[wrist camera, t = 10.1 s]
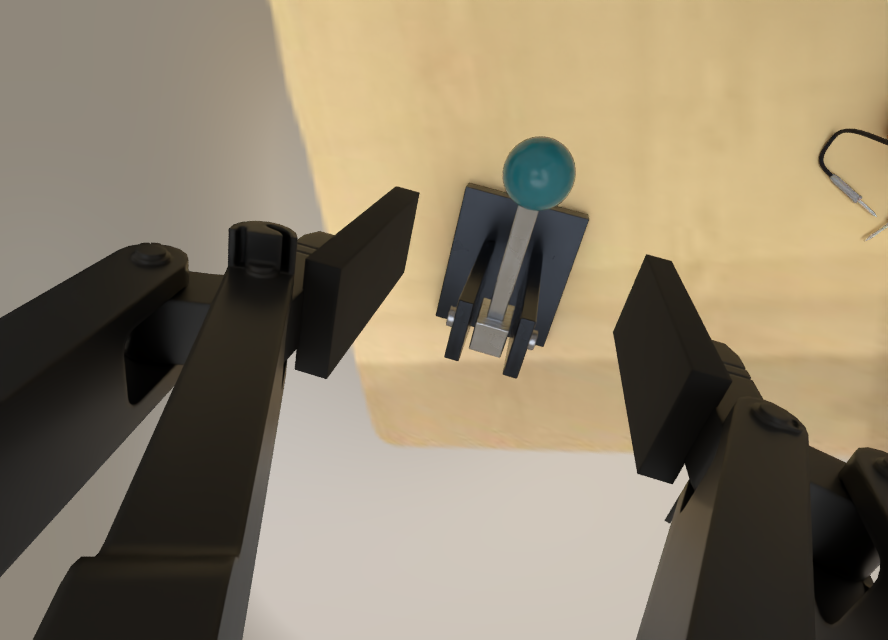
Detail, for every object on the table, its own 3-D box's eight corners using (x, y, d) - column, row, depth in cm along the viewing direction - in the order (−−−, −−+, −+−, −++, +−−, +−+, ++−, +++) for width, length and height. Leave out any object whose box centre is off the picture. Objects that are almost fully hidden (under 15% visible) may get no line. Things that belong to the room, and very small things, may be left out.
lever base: (468, 182, 44) (432, 232, 32) (588, 214, 43) (597, 277, 31) (438, 308, 50) (398, 392, 37) (543, 339, 49) (537, 434, 37)
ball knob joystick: (518, 115, 27) (505, 151, 24) (588, 133, 27) (582, 171, 24) (468, 315, 38) (456, 353, 36) (517, 329, 38) (508, 368, 36)
